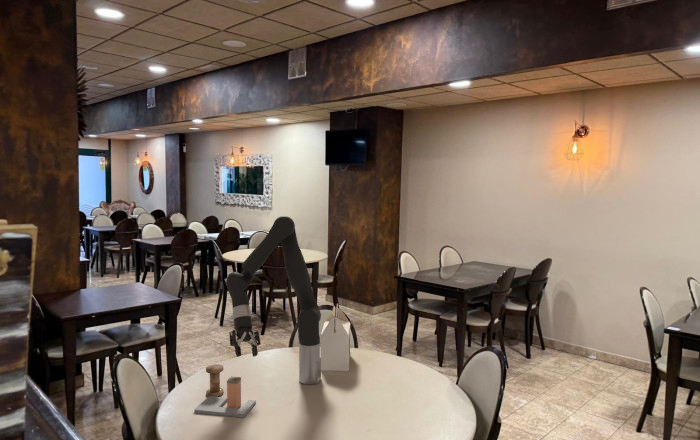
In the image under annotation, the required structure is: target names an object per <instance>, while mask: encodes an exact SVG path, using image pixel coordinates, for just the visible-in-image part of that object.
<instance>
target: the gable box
mask: <svg viewBox="0 0 700 440" xmlns="http://www.w3.org/2000/svg"><path fill="white" fill-rule="evenodd" d="M338 306H339V303H336V305H333V306H332V310H331V313H330V315H329V316H328V317H327V319H326V320H325V321H324V323H323V326H322V330H321V334H320V358H321V372H323V371H324V372H328V371H329V372H334V371H335V372H349V371H350V370H349V368H350V358H351V322H350V321H349V319H348V318H347V316H346V314H345V313H344V312H343V310H342V309H341V308H339V307H338Z"/></svg>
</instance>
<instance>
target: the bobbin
mask: <svg viewBox="0 0 700 440" xmlns="http://www.w3.org/2000/svg"><path fill="white" fill-rule="evenodd" d="M223 371H224V365H223V364H219V363H218V364H216V363H215V364H210V365H208V366H206V367H205V372H206V373H207V374H209V388H207V390H206V391H205V392H206V393H205V395H206V397H207V398H208V397H209V396H214V397H221V396H223V395H224V394H223V393H225V391H224V388H223V387H221V374H220V373H222V372H223Z"/></svg>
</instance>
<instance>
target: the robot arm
mask: <svg viewBox="0 0 700 440" xmlns="http://www.w3.org/2000/svg"><path fill="white" fill-rule="evenodd" d="M279 244H280V245H281V248H282V252H283V253H282V254H283V261H284V268H285V271H286V276H287V279H288V281H289V284H290V286H291V288H292V289H293V291H294V294H295V295H296V296H297V299H298V303H299V308H300V309H299V310H300V312H299V314H298V316H297V317H298V318H297V335H298V336H297V337H299V338H298V349H299V350H298V354H299V357H298V358H299V359H298V362H299V363H298V370H299V371H298V374H299V375H298V378H299V379H298V381H299V383H301V384H303V385H314V384H317V385H318V384H319V383H320V381H321V379H322V371H321V335H320V321H321V317H322V313H321V310H320V307H319V306H318V303H317V300H316V297H315V295H314V290H313V287H312V282H311V278H310V275H309V270H308V267H307V263H306V261H305V257H304V255H303V253H302V250H301V248H300V245H299V243H298V237H297V232H296V224H295V221H294V220H293V218H292V217H291V216H287V215H281V216H278V217H276V219H274V221H273V224H272V226H271V227H270V229H269V231H268V232H267V234H266V235H265V237H264V238H263V239H262V241H260V243H259V244H258V245H257V246H256V247H255V248H254V250H252V251H251V252H250V254H249V255H248V256H247V257H246V259H245V260H244V261H243V263H241V264H242V265H241V267H242V269H243V270H242V272H241V273H239V272H238V271H237V272H236V271H231V272H230V273H229V274H228V275H227V278H226V281H225V282H226V287H227V291H228V292H229V296H230V298H231V305H232V317H233V320H232V321H233V328H234V329H233V330H231V331H229V332H228V333H229V346H230V347H233V348H234V351H235V356H236V357H237V358H238V357H241V356H242V349H241V344H242V343H243V342H244V343H247V344H249V345H250V347H251V353H252V357H257V356H258V355H259V351H258V350H259V349H258V346H260V345H261V338H260V333H259V330H256V331H253V324H254V323H253V319H252V318H253V317H252V311H251V308H250V301H249V300H250V299H249V296H248V294H247V293H246V292H245V291H244V290H246V289H247V288H249V286H250V284H251V283H252V281H253V279H254V277H255V274H256V273H257V272H258V270H259V269H260V268H261V267H262V265H264V263H266V261H267V259H268V258H269V257H270V255H271V254H272V252H273V251H274V250H275V249H276V248H277V246H278V245H279Z"/></svg>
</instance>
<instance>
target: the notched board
mask: <svg viewBox="0 0 700 440" xmlns="http://www.w3.org/2000/svg"><path fill="white" fill-rule="evenodd" d="M225 404H227V397H223V396H222V397H221V396H219V397H214V396H209V397H208V396H207V397H206V398H205V399H204V400H203V401H202V402H201V403H200V404H199V405H198V406H196V408H194V409H193V410H194V412H193V413H195V414H204V415H214V416H225V417H235V418H245V417H246V416H247V415H248V413H249V412H250V411H251V410H252V408H253V407H254V406H255V405H256V404H257V400H255V399H254V400H253V399H248V400H247V401H246V402H245V403H244V404H243V406H241V408H227V406H225V407H223V406H224V405H225Z"/></svg>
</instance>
